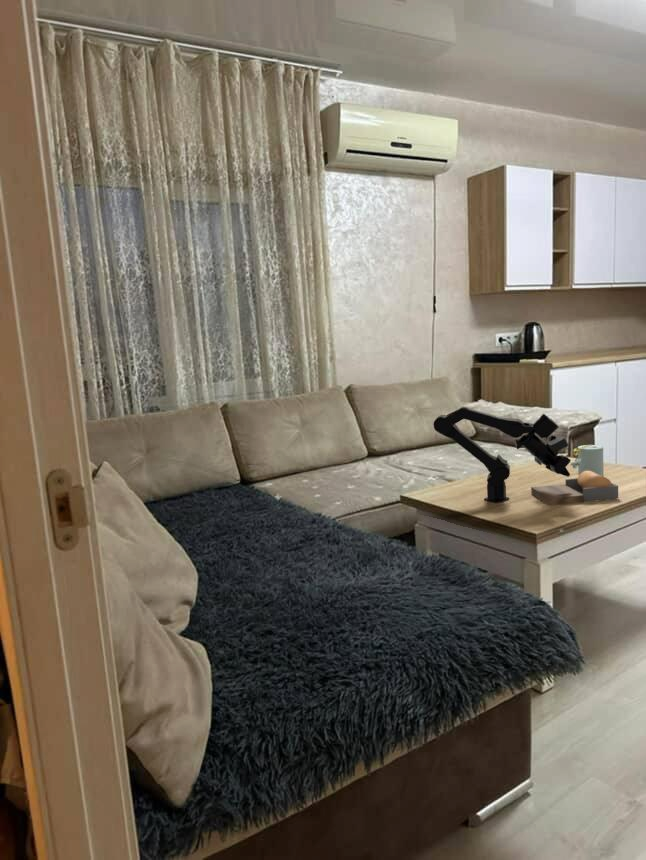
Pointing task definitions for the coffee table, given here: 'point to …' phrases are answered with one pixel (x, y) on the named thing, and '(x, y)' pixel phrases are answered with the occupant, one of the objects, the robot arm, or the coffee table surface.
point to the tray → (594, 491)
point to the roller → (592, 480)
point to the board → (557, 494)
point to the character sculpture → (589, 459)
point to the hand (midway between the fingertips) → (568, 475)
